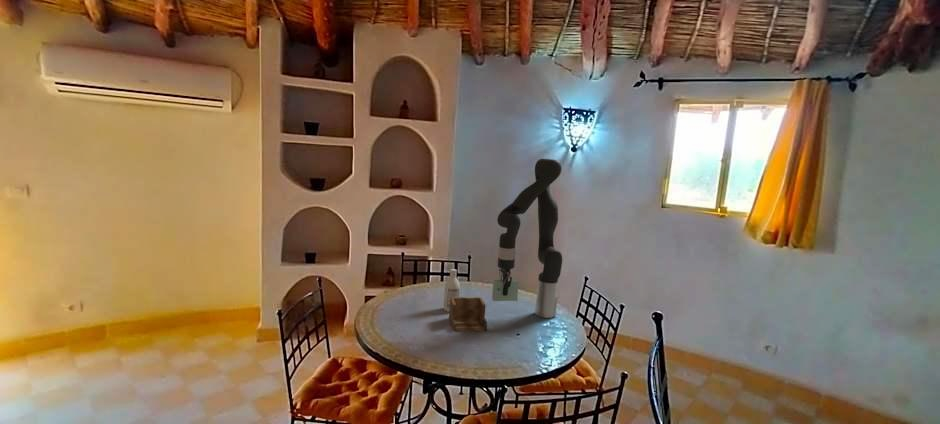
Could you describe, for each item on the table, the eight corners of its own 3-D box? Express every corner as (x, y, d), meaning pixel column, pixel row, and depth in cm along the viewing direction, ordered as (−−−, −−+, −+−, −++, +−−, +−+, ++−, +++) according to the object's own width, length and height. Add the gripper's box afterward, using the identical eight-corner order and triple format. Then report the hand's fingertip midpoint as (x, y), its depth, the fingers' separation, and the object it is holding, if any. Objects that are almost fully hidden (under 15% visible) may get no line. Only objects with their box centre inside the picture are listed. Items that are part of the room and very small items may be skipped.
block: (515, 298, 229) (516, 279, 227) (517, 300, 226) (518, 281, 225) (492, 299, 227) (493, 279, 225) (493, 301, 224) (494, 282, 223)
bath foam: (460, 310, 241) (463, 270, 238) (449, 313, 237) (452, 272, 233) (452, 306, 246) (455, 266, 243) (440, 308, 242) (443, 268, 238)
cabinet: (479, 317, 234) (481, 297, 232) (486, 330, 220) (488, 309, 219) (448, 318, 231) (450, 297, 230) (453, 330, 218) (455, 309, 216)
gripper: (519, 261, 217) (516, 299, 220) (510, 252, 231) (508, 288, 234) (502, 261, 216) (499, 299, 219) (494, 252, 229) (492, 289, 232)
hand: (504, 293), depth 226 cm, fingers closed on block, 2 cm apart
